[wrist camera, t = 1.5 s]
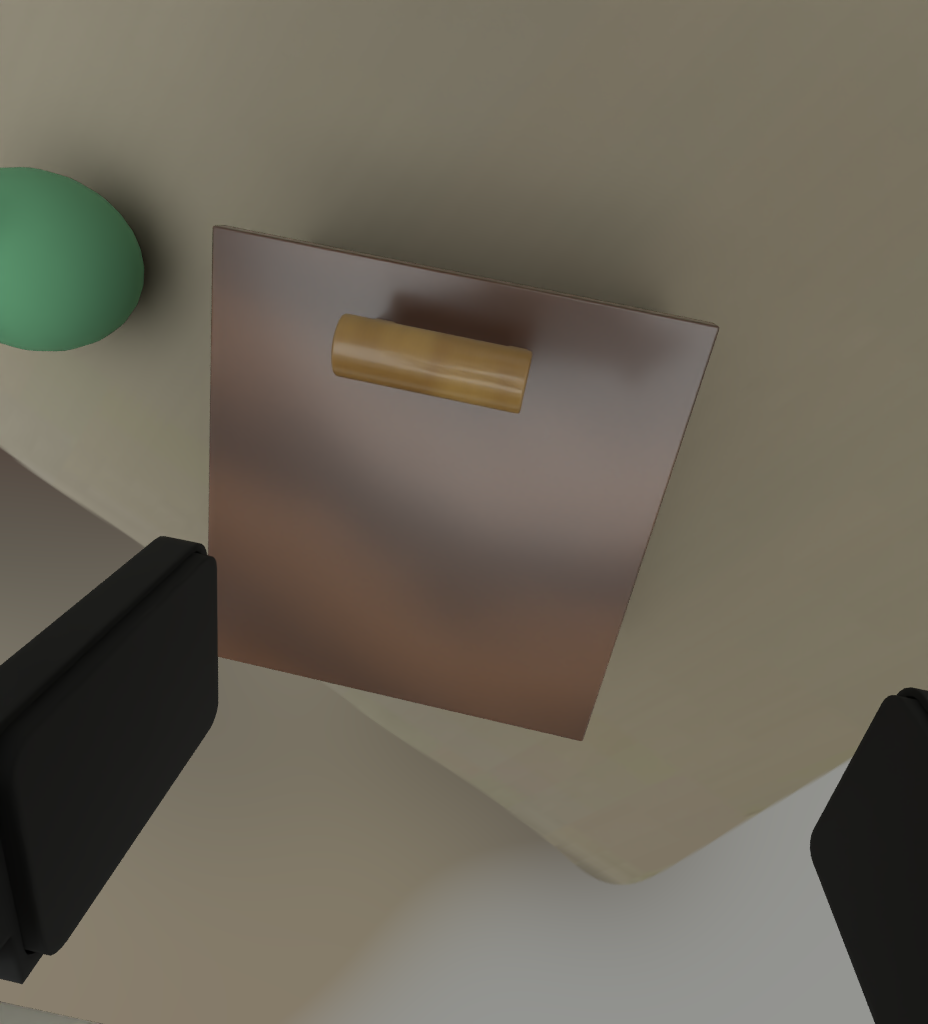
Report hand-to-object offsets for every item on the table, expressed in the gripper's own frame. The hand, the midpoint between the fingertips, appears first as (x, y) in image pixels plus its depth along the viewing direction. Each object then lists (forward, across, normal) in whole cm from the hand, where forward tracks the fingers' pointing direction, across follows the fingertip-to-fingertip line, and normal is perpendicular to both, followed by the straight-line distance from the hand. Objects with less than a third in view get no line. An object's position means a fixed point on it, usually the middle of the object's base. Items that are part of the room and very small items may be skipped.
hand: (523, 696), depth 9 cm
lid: (+15, +4, +5) cm, 17 cm away
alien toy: (+24, +22, -1) cm, 32 cm away
